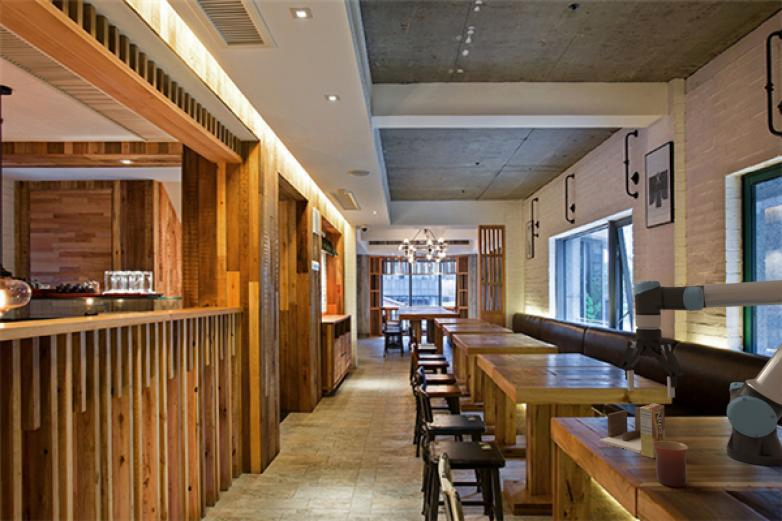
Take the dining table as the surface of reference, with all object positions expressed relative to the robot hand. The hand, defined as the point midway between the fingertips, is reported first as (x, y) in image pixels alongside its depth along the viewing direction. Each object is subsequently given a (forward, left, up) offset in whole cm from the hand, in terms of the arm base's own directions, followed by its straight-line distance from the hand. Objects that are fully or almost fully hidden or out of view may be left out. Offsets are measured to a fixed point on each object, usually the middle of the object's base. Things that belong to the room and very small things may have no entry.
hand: (650, 393), depth 168 cm
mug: (-16, +18, -19) cm, 31 cm away
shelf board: (+10, -5, -19) cm, 22 cm away
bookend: (+8, -7, -19) cm, 22 cm away
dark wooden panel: (+17, -7, -19) cm, 27 cm away
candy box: (0, 0, -19) cm, 19 cm away
